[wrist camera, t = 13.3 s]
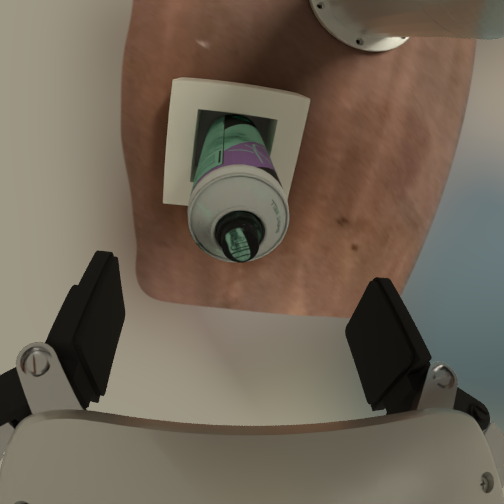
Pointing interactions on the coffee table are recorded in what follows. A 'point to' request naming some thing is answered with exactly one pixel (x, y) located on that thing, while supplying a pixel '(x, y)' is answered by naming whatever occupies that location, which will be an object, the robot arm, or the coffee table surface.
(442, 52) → the coffee table surface
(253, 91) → the can holder
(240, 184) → the spray can
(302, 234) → the coffee table surface
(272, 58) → the coffee table surface
